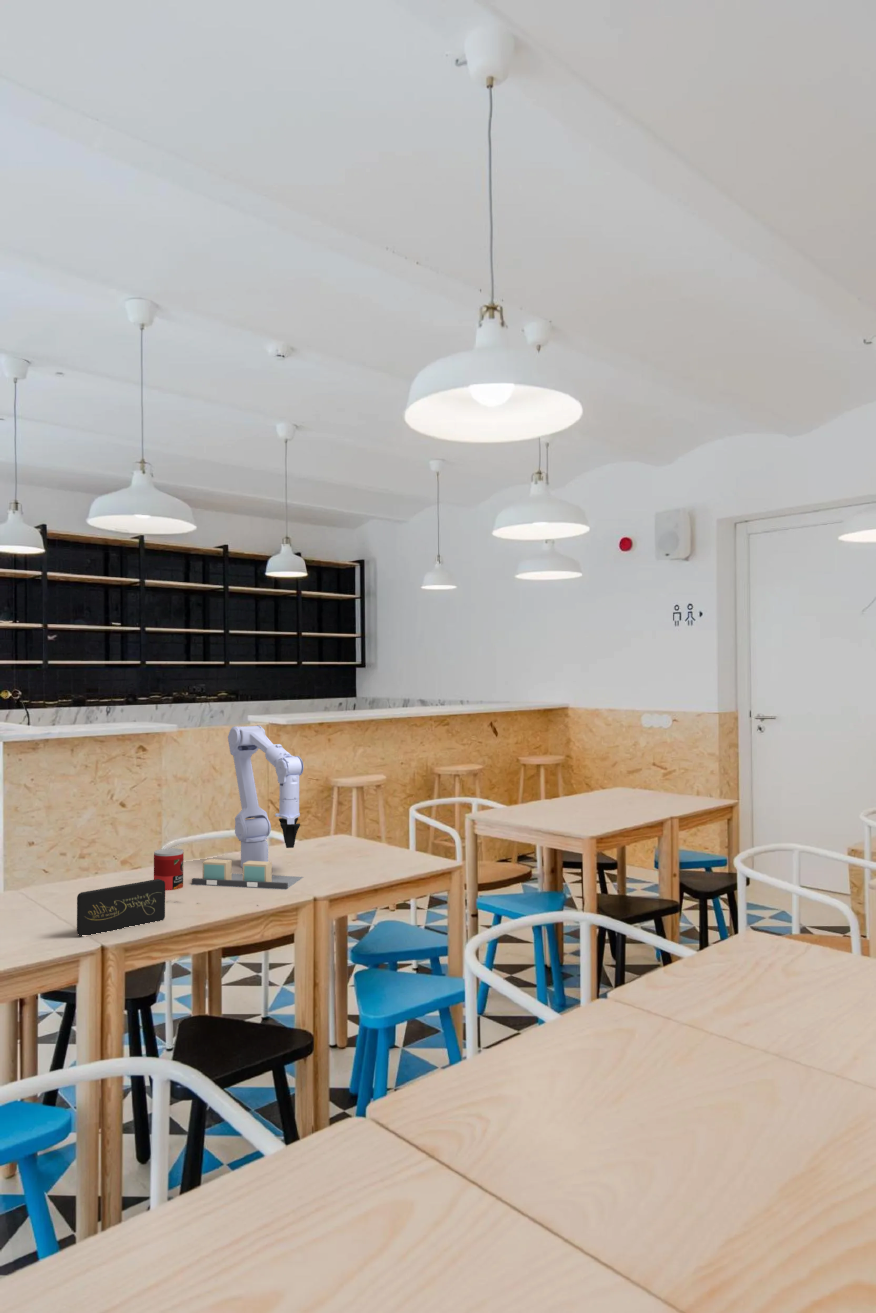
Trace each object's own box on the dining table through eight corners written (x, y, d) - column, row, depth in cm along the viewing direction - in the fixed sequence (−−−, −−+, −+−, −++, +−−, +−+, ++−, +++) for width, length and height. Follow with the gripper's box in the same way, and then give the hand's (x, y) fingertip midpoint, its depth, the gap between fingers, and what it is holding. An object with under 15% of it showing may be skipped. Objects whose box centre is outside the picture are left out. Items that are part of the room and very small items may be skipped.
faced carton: (231, 881, 254) (231, 860, 254) (225, 884, 250) (225, 863, 250) (208, 880, 255) (208, 859, 255) (202, 883, 251) (202, 862, 251)
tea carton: (271, 883, 252) (271, 861, 252) (266, 886, 248) (266, 864, 248) (248, 881, 253) (248, 860, 254) (242, 885, 249) (242, 863, 250)
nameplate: (161, 918, 220) (161, 878, 220) (164, 920, 219) (165, 879, 219) (76, 936, 206) (77, 892, 206) (80, 938, 204) (80, 894, 204)
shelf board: (213, 875, 265) (213, 867, 265) (303, 880, 260) (303, 871, 260) (190, 888, 250) (191, 879, 250) (285, 893, 245) (286, 884, 245)
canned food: (178, 894, 243) (178, 853, 243) (149, 893, 243) (149, 853, 244) (186, 887, 251) (187, 848, 251) (158, 886, 251) (159, 847, 251)
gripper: (274, 795, 265) (274, 840, 265) (276, 802, 251) (276, 850, 251) (298, 794, 267) (298, 839, 267) (301, 801, 253) (301, 849, 252)
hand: (289, 845), depth 259 cm, fingers open, 7 cm apart
